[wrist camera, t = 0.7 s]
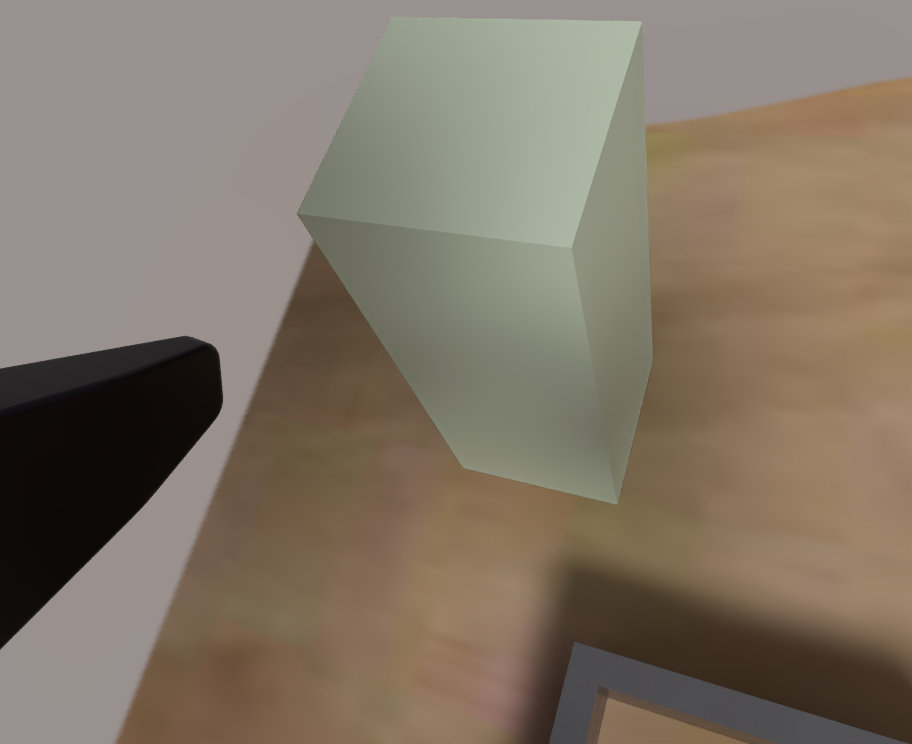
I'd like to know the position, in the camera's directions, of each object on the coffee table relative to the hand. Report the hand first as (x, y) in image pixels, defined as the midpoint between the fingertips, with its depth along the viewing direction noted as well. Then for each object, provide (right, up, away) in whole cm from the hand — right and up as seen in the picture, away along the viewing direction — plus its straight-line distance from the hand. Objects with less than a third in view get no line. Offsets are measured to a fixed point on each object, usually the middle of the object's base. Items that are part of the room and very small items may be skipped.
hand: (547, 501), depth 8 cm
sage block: (+2, 0, +17) cm, 17 cm away
